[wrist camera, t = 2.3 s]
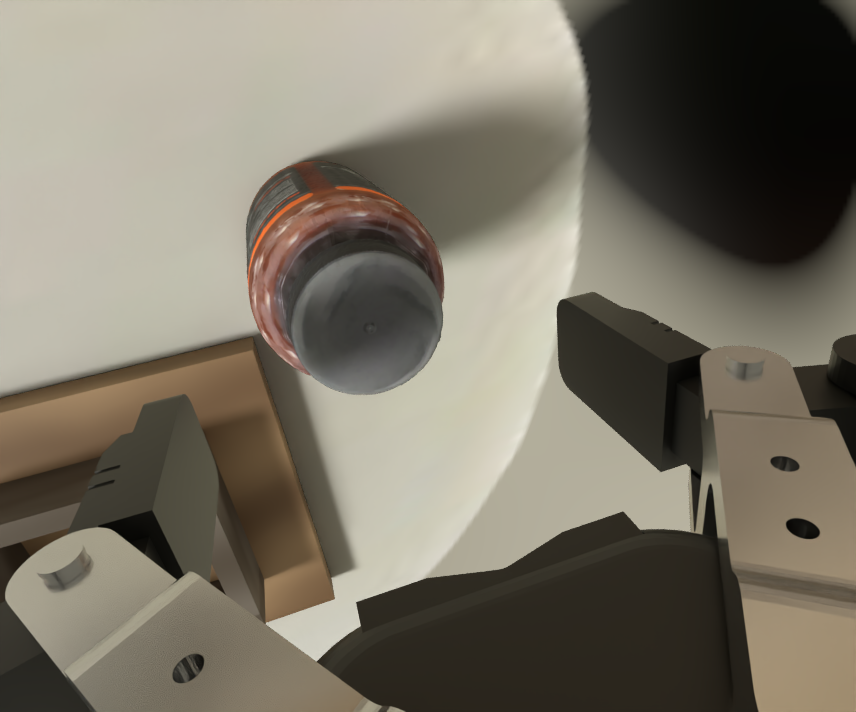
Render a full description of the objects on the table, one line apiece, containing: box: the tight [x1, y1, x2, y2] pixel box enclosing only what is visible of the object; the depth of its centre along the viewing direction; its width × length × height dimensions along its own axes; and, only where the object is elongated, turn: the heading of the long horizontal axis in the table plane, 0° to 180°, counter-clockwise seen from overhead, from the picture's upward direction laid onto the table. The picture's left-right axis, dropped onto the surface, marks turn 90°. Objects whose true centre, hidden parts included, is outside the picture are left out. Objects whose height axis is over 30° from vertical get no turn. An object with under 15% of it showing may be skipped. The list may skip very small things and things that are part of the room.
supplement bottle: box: [246, 161, 444, 395], centre depth 19 cm, size 6×6×11 cm
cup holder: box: [0, 337, 335, 624], centre depth 25 cm, size 16×16×4 cm
